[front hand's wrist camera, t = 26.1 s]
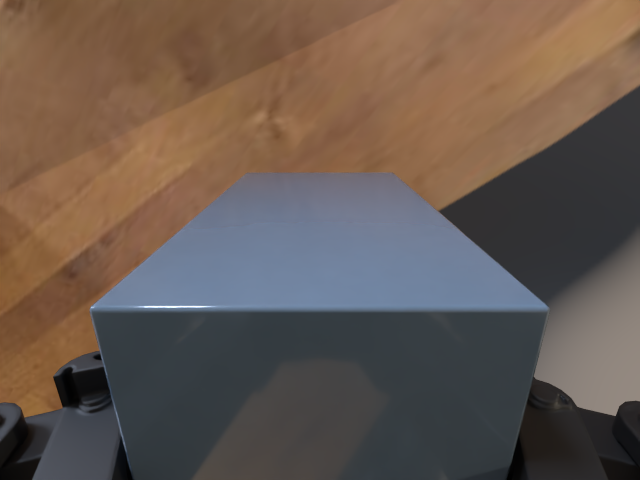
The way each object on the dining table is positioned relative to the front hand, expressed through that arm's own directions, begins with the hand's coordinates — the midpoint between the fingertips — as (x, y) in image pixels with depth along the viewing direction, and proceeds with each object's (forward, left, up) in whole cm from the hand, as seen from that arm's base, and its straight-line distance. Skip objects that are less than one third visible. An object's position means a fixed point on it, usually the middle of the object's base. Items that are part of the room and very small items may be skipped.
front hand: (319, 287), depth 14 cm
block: (0, 0, -3) cm, 3 cm away
